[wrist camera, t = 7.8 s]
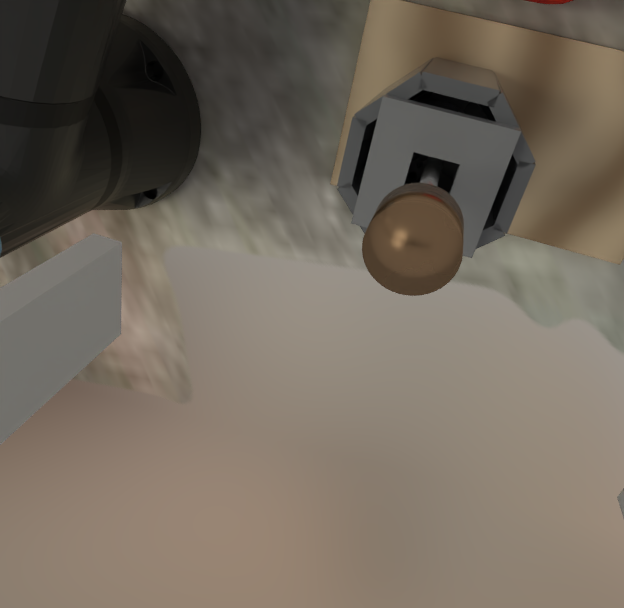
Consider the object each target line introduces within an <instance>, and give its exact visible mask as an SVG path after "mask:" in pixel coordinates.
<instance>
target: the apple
mask: <svg viewBox="0 0 624 608" xmlns="http://www.w3.org/2000/svg"><path fill="white" fill-rule="evenodd" d="M525 1H531V2H536V3H542V4H563V3H567V2H570V1H573V0H525Z"/></svg>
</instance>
